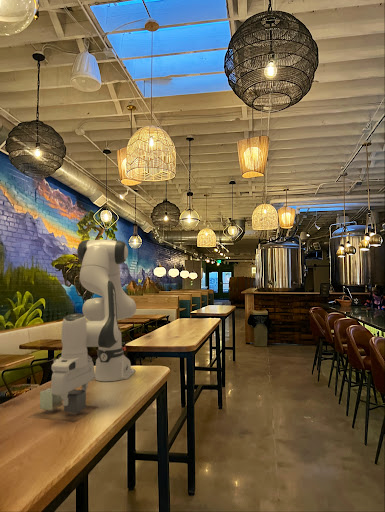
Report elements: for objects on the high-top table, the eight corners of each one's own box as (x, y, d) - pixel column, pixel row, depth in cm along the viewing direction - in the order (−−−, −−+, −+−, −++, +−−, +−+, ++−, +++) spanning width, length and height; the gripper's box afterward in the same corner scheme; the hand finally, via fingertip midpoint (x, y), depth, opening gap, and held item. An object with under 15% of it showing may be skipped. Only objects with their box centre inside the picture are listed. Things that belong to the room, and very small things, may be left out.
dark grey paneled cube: (73, 406, 132) (73, 389, 132) (85, 407, 130) (85, 390, 131) (64, 411, 127) (63, 393, 127) (76, 412, 125) (76, 394, 126)
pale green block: (49, 408, 135) (49, 387, 135) (61, 409, 133) (61, 388, 134) (40, 413, 130) (40, 391, 130) (52, 414, 128) (52, 392, 129)
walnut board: (56, 405, 141) (56, 402, 141) (99, 409, 135) (99, 406, 135) (27, 419, 127) (27, 416, 127) (74, 425, 121) (74, 422, 121)
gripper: (84, 354, 140) (84, 390, 140) (47, 366, 121) (48, 409, 120) (98, 354, 139) (98, 392, 138) (64, 367, 119) (64, 411, 118)
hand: (74, 400), depth 129 cm, fingers open, 8 cm apart
